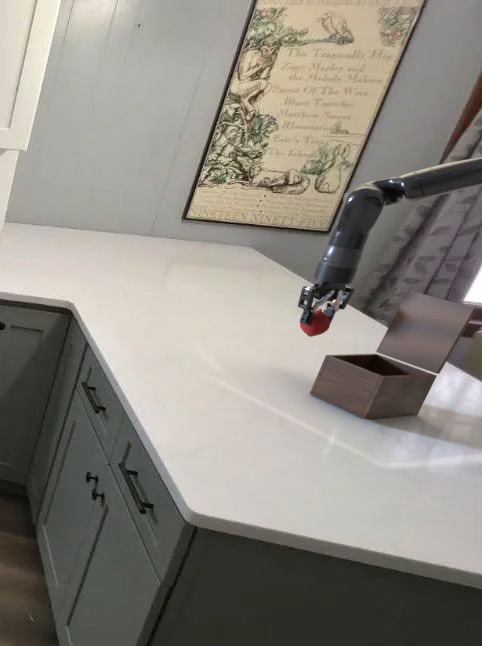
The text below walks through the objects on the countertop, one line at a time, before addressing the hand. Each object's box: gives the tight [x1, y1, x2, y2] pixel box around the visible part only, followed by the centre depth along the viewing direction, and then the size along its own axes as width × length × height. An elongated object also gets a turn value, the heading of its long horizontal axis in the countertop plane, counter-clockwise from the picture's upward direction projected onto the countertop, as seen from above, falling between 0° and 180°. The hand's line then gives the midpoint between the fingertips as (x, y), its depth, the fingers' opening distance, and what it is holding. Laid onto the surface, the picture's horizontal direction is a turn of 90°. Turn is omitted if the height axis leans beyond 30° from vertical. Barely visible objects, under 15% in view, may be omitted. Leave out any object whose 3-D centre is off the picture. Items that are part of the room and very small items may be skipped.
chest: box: [309, 353, 438, 420], centre depth 153 cm, size 16×13×11 cm
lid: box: [375, 290, 477, 375], centre depth 150 cm, size 16×13×5 cm
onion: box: [299, 307, 331, 338], centre depth 167 cm, size 6×6×8 cm
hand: (314, 323), depth 167 cm, fingers closed on onion, 6 cm apart
